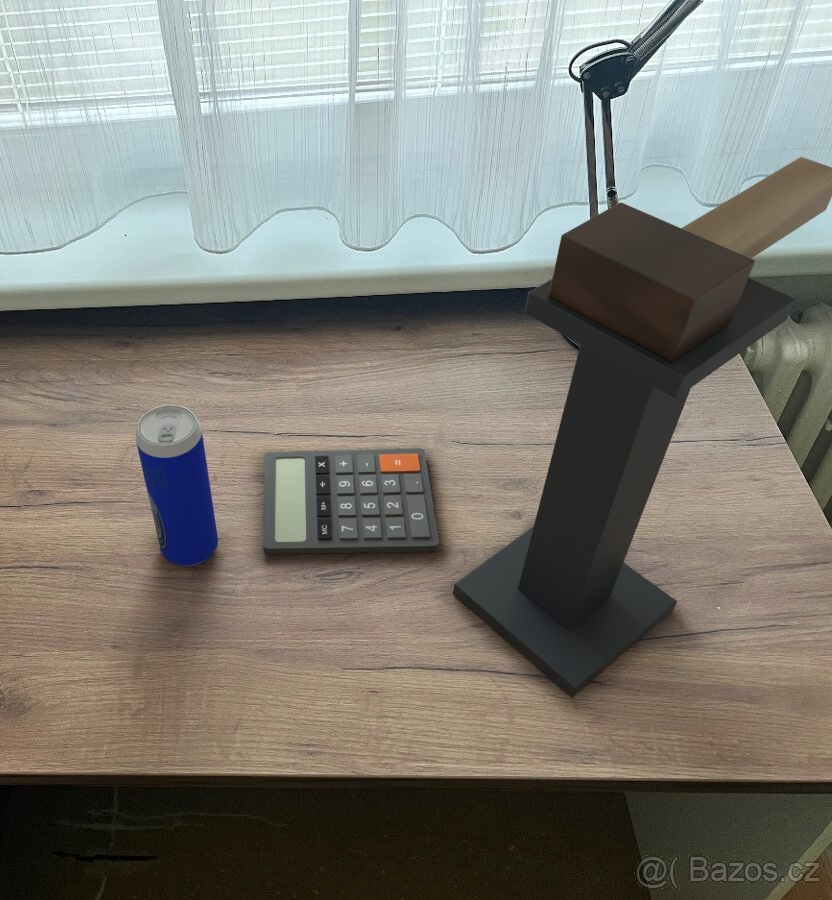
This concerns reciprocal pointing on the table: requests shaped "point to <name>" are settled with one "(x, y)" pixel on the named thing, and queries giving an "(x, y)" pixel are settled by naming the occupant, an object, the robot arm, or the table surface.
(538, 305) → the stand
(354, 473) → the calculator
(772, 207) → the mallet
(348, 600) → the table surface
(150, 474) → the beverage can
